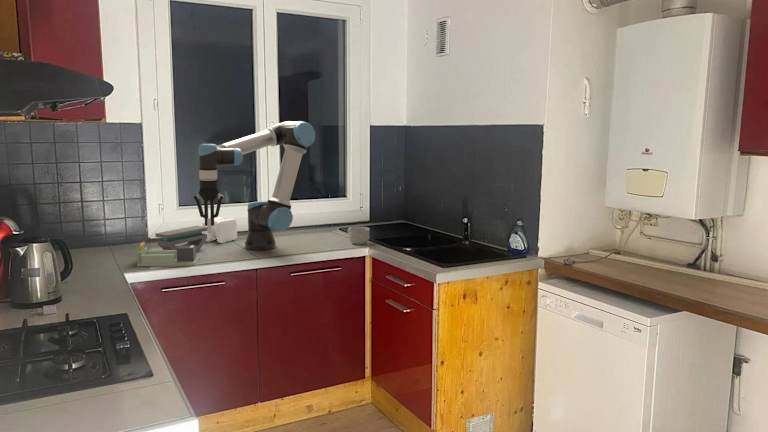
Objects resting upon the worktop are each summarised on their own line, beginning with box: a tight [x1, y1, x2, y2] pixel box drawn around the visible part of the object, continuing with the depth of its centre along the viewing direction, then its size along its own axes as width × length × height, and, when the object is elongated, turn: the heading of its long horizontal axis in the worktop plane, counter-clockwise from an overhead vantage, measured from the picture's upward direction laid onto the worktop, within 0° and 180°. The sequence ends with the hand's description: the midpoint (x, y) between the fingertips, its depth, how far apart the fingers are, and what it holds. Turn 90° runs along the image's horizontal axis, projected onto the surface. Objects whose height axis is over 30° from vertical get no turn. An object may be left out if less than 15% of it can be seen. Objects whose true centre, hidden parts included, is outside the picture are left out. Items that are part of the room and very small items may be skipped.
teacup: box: [347, 226, 371, 246], centre depth 312 cm, size 14×11×8 cm
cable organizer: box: [202, 217, 238, 244], centre depth 312 cm, size 15×11×12 cm
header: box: [136, 241, 201, 267], centre depth 264 cm, size 24×12×9 cm, turn 97°
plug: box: [177, 245, 197, 262], centre depth 265 cm, size 7×5×6 cm
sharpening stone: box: [154, 225, 208, 253], centre depth 284 cm, size 25×8×11 cm, turn 151°
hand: (209, 232), depth 265 cm, fingers closed
